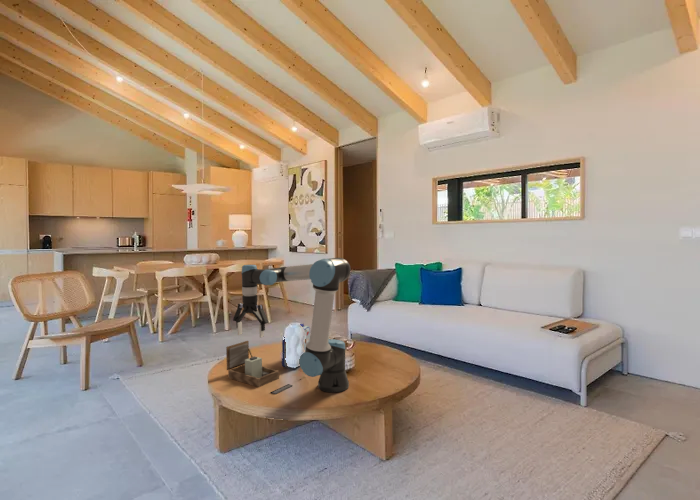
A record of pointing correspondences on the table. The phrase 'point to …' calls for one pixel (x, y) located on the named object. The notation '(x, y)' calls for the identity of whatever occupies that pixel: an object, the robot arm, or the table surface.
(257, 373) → the block
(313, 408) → the table surface
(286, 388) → the mat
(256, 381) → the case
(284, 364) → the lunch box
